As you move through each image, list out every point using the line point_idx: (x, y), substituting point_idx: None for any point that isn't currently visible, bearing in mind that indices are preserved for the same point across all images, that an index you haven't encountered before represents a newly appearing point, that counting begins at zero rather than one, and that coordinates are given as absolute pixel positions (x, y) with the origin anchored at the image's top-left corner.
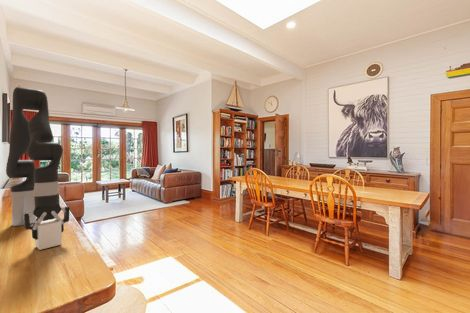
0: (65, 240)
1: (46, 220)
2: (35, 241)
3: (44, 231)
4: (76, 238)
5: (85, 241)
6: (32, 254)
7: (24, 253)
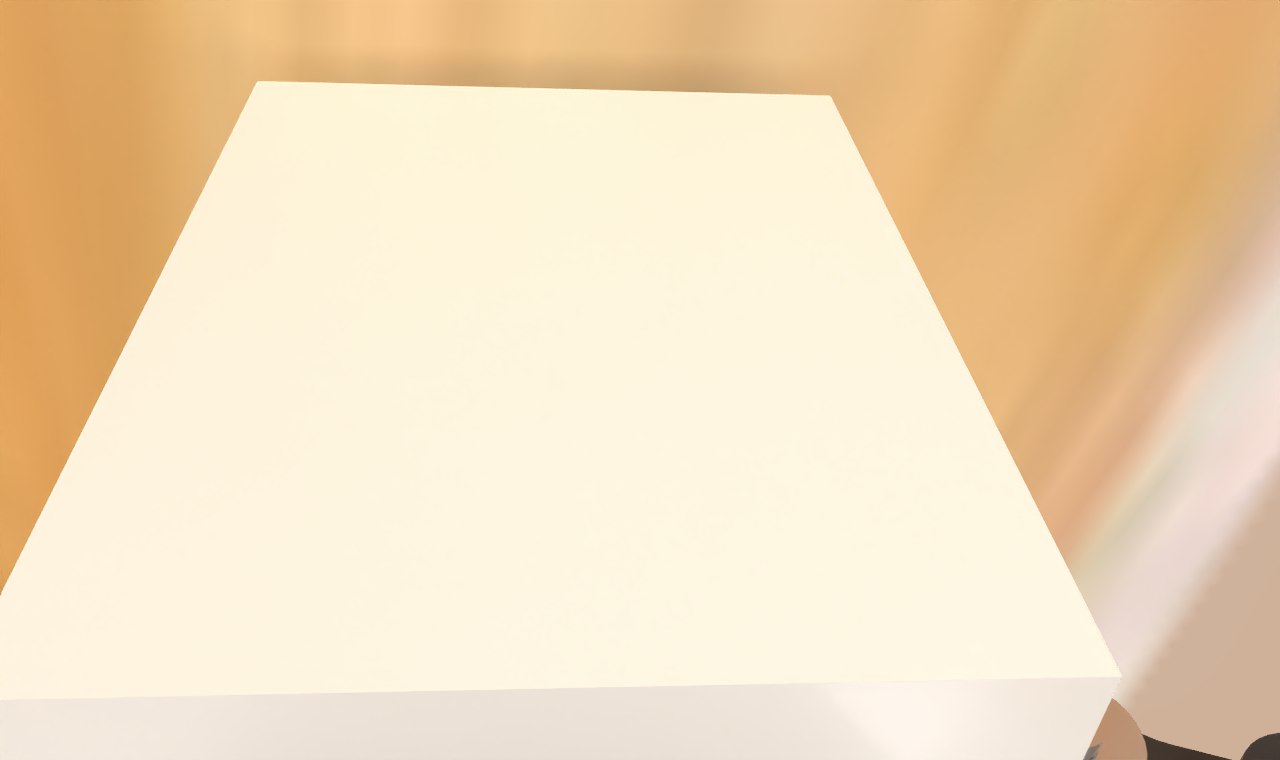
0: (977, 188)
1: (577, 697)
2: (231, 143)
3: None
4: (1204, 259)
5: (1137, 599)
6: None
7: (40, 383)
